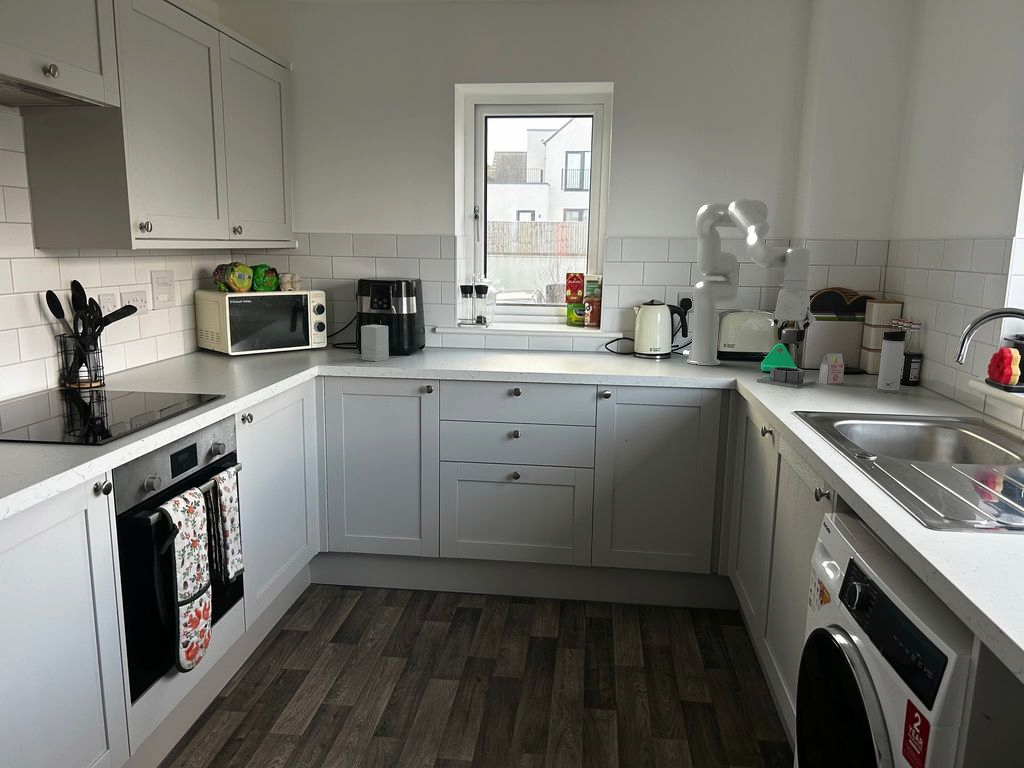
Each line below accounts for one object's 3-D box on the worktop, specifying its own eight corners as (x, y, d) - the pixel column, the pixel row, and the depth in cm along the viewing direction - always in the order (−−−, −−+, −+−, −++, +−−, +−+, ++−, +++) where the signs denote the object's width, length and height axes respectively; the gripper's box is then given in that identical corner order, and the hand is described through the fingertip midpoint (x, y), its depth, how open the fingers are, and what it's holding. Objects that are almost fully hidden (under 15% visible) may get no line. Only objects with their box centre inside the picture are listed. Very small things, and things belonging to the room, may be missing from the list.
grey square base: (756, 381, 258) (757, 368, 258) (776, 377, 268) (777, 364, 267) (797, 388, 249) (798, 374, 248) (815, 383, 259) (816, 370, 258)
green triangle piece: (761, 373, 277) (763, 345, 275) (760, 370, 284) (762, 342, 282) (796, 375, 274) (799, 347, 272) (794, 372, 281) (797, 344, 279)
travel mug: (890, 394, 242) (898, 331, 238) (872, 390, 248) (879, 329, 244) (903, 393, 245) (911, 330, 241) (885, 389, 251) (892, 328, 247)
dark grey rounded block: (777, 342, 256) (778, 328, 255) (785, 341, 260) (786, 327, 259) (795, 344, 252) (796, 330, 251) (803, 342, 256) (804, 329, 255)
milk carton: (818, 382, 261) (821, 353, 259) (834, 381, 263) (837, 352, 261) (826, 384, 257) (829, 354, 255) (842, 383, 260) (845, 354, 258)
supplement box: (389, 359, 286) (389, 325, 284) (375, 361, 280) (375, 327, 278) (374, 357, 290) (374, 324, 288) (360, 359, 284) (360, 325, 282)
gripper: (765, 285, 256) (761, 338, 259) (816, 287, 244) (811, 344, 247) (775, 284, 261) (771, 337, 264) (825, 287, 249) (820, 342, 252)
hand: (790, 340), depth 256 cm, fingers closed on dark grey rounded block, 5 cm apart
